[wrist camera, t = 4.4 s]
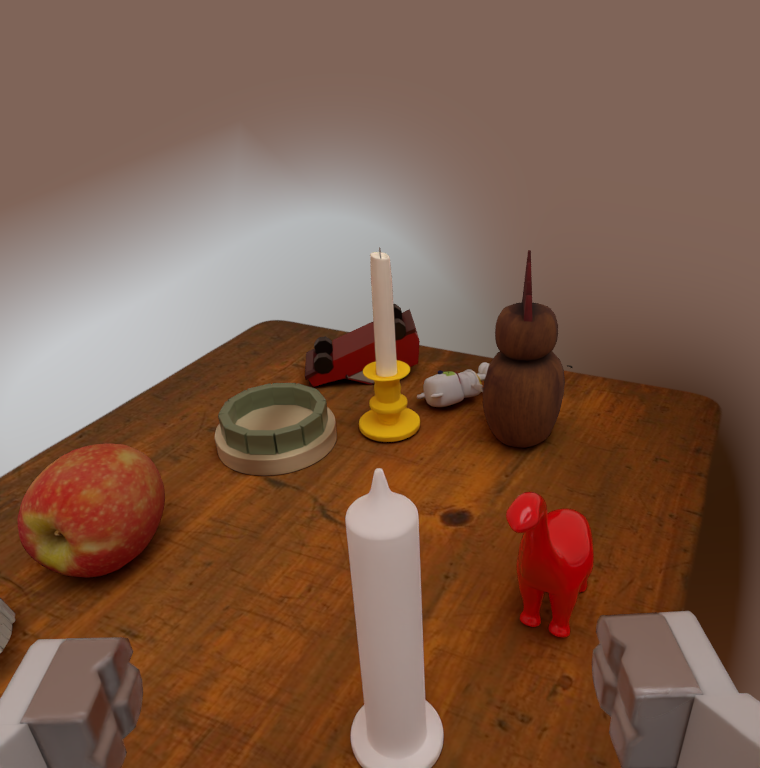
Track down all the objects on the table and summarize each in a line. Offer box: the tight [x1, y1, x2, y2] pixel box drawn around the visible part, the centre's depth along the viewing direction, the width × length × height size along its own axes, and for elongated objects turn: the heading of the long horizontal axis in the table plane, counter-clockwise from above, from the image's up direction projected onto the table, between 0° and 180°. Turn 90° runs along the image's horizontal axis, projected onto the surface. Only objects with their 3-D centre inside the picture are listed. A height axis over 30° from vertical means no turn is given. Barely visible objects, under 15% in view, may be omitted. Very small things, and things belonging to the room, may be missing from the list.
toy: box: [417, 362, 572, 407], centre depth 60 cm, size 7×3×15 cm
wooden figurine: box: [483, 250, 565, 448], centre depth 51 cm, size 7×6×15 cm
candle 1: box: [359, 248, 420, 442], centre depth 53 cm, size 5×5×16 cm
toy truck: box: [305, 304, 419, 387], centre depth 65 cm, size 6×12×5 cm, turn 93°
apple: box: [18, 443, 165, 578], centre depth 43 cm, size 8×8×8 cm
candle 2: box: [346, 468, 443, 768], centre depth 28 cm, size 4×4×16 cm
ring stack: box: [215, 383, 337, 476], centre depth 55 cm, size 10×10×3 cm
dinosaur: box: [506, 492, 594, 638], centre depth 35 cm, size 4×15×12 cm, turn 150°
